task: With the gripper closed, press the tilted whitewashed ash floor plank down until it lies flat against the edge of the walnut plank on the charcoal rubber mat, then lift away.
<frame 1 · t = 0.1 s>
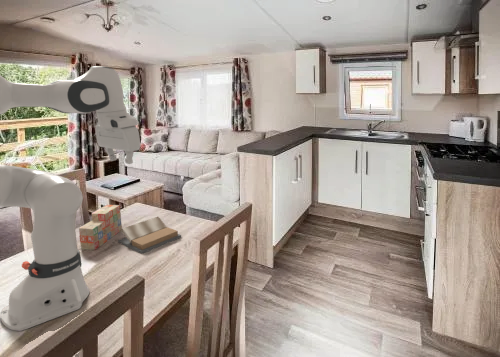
hand: (121, 161, 108), 39 cm above the table, tool pointing down, fingers open, 8 cm apart
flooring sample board: (150, 239, 141), on the table
stack of blocks: (103, 239, 142), on the table
ash plank: (145, 229, 142), point 4 cm above the table, hinge at 30.0°
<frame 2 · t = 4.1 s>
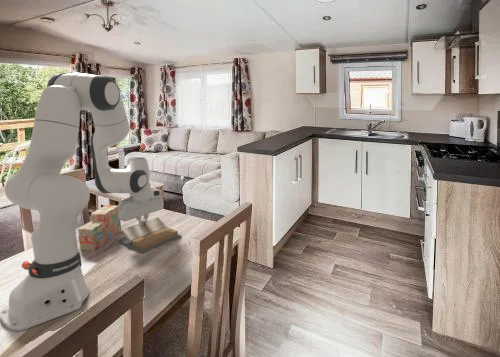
hand: (143, 224, 143), 6 cm above the table, tool pointing down, fingers closed, pressing on ash plank
ash plank: (145, 229, 142), point 4 cm above the table, hinge at 26.0°, touching gripper
everything else where it was.
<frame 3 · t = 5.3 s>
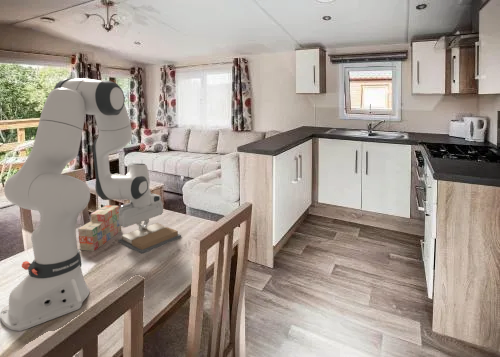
hand: (143, 229, 144), 3 cm above the table, tool pointing down, fingers closed, pressing on ash plank
ash plank: (145, 232, 143), point 2 cm above the table, hinge at 3.0°, touching gripper
everything else where it was.
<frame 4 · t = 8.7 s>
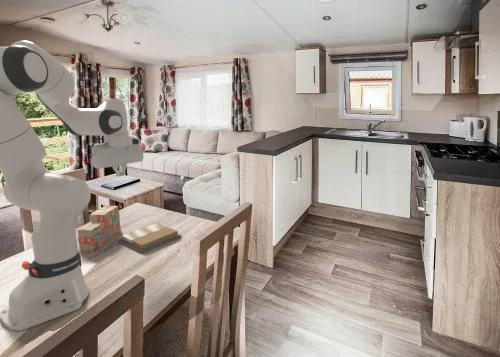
hand: (120, 175, 131), 29 cm above the table, tool pointing down, fingers closed
ash plank: (145, 232, 143), point 2 cm above the table, hinge at 2.9°
at the end: ash plank at +3° (first picture: +30°); stack of blocks moved 1.3 cm from its start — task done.
